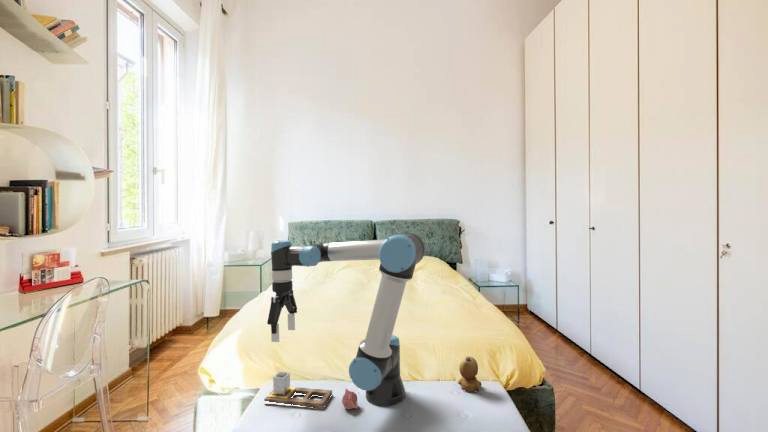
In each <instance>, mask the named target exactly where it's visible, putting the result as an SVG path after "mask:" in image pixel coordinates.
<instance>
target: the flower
mask: <svg viewBox="0 0 768 432" xmlns="http://www.w3.org/2000/svg"><path fill="white" fill-rule="evenodd" d="M344 392H345V393H344V395H342V396H343V397H342V399H341V401H342V402H341V403H342V405H343V407H344V408H345V409H348V410H352V409H359V406H358V395H357V393H356V392H355V391H349V389H347V388H345V391H344Z"/></svg>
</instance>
